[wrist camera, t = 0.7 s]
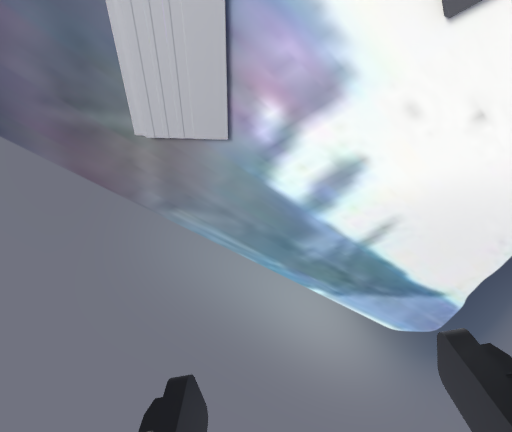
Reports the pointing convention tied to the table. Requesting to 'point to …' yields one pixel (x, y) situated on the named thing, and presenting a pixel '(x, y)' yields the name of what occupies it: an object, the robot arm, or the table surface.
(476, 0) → the rubber mat
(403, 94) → the table surface
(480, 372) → the robot arm
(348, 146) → the table surface
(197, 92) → the baseboard molding
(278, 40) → the table surface
